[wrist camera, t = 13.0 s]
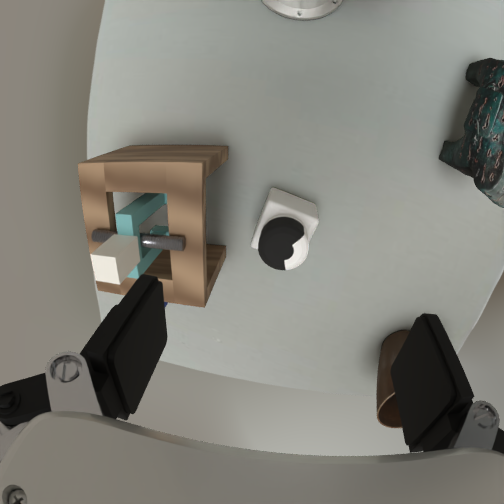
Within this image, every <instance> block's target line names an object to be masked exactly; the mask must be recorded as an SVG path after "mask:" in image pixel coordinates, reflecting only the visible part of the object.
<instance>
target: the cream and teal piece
mask: <svg viewBox="0 0 504 504" xmlns="http://www.w3.org/2000/svg"><path fill="white" fill-rule="evenodd" d="M164 204H167V194H166V193H145V194H144V195H142V196H141V197H139V198H138V199H136V200H135V201H133V202H132V203H130V204H129V205H128V206H126V207H125V208H123V209H122V210H120V211H119V212H118V213H116V223H117V231H118V234H114V235H113V236H111V237H110V238H109V239H108V240H107V241H105V242H104V243H103V244H102V245H101V246H99V247H98V248H97V249H96V250H95V251H94V252H93V253H91V254H90V255H91V260H92V265H93V270H94V274H95V279H96V281H102V282H108V283H113V284H119V285H120V284H121V283H122V282H123V280H124V279H125V278H126V277H129V278H136V279H138V278H139V276H140V275H141V274H143V273H144V272H145V271H146V270H147V268H148V267H149V266H150V265H151V263H152V262H153V261H154V260H155V259H156V257H157V256H158V255H159V254H160V252H161V251H162V250H163V249H155V248H146V247H141V243H140V233H139V225H140V224H141V223H142V222H144V221H145V220H146V219H147V218H148V217H149V216H151V215H152V214H153V213H154V212H155V211H156V210H158V209H159V208H160V207H161V206H162V205H164ZM150 234H156V235H167V236H169V227H168V226H159V225H155V226H154V227H153V228H152V229H151V230H150Z"/></svg>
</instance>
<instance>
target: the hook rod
mask: <svg viewBox="0 0 504 504" xmlns="http://www.w3.org/2000/svg"><path fill="white" fill-rule="evenodd" d="M114 234H118V231H111V230H99V229H94V230H93V232H92V241H93V242H99V243H104V242H105V241H107V240H108V239H109V238H110V237H111V236H113V235H114ZM140 243H141V247H146V248H155V249H165V250H174V251H184V249H185V245H186V239H185V237H178V236H167V235H156V234H145V233H140Z"/></svg>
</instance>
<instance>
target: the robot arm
mask: <svg viewBox="0 0 504 504" xmlns="http://www.w3.org/2000/svg"><path fill="white" fill-rule="evenodd" d="M262 2H263V3H264V4H265V5H266V6H267V7H268V8H269V9H270V10H272V11H274V12H275V13H277V14H279V15H281V16H284V17H287V18H291V19H296V20H313V19H319V18H321V17H324V16H327V15H329V14H330V13H332V12H333V11H334V10H336V9H337V8H338V7H339V5H340V4H341V3H342V0H262ZM332 2H335V3H336V4H333V3H332ZM298 14H301V16H298ZM166 342H167V328H166V318H165V307H164V294H163V283H162V282H161V281H159V280H158V277H157V276H152V275H146V274H141V275H140V276H139V278H138V279H137V280H136V282H135V283H134V284H133V286H132V287H131V288H130V290H129V291H128V292H127V294H126V295H125V296H124V298H123V299H122V300H121V302H120V303H119V304H118V305H115V306H114V307H113V308H112V309H111V310H110V312H109V313H108V314H107V316H106V317H105V319H104V320H103V321H102V323H101V324H100V326H99V327H98V328H97V330H96V331H95V333H94V334H93V335H92V337H91V338H90V340H89V341H88V343H87V344H86V345H85V347H84V348H83V350H82V351H81V353H80V354H78V353H76V352H70V351H68V352H62V353H59V354H57V355H55V356H54V357H52V358H51V359H50V360H49V362H48V363H47V366H46V372H45V373H43V374H39V375H36V376H33V377H29V378H26V379H22V380H19V381H15V382H12V383H8V384H5V385H2V386H0V504H504V431H503V430H501V429H500V428H499V421H500V419H499V415H498V413H497V410H496V409H495V408H494V407H493V406H492V405H491V404H490V403H488V402H486V401H476V402H475V403H473V401H472V398H473V397H474V394H473V392H472V389H471V387H470V384H469V382H468V379H467V377H466V375H465V372H464V370H463V368H462V366H461V363H460V361H459V359H458V356H457V354H456V352H455V350H454V348H453V346H452V344H451V342H450V339H449V337H448V335H447V333H446V331H445V329H444V327H443V325H442V323H441V321H440V319H439V317H438V316H437V315H435V314H425V313H424V314H422V315H421V316H420V317H417V318H416V320H415V322H414V324H413V326H412V328H411V330H410V332H409V334H408V336H407V338H406V340H405V342H404V344H403V346H402V348H401V350H400V351H399V353H398V355H397V357H396V359H395V360H394V362H393V364H392V366H391V370H390V374H391V378H392V382H393V387H394V391H395V395H396V400H397V404H398V409H399V413H400V418H401V423H402V428H403V433H404V439H405V443H406V445H409V450H410V453H408V454H396V455H380V456H315V455H314V456H313V455H298V454H285V453H275V452H266V451H258V450H250V449H243V448H236V447H230V446H224V445H219V444H213V443H208V442H203V441H198V440H193V439H189V438H184V437H180V436H176V435H171V434H167V433H164V432H160V431H155V430H152V429H148V428H145V427H141V426H138V425H134V424H131V423H127V422H123V421H120V420H116V418H117V417H118V418H121V419H124V420H127V419H128V417H129V415H130V413H131V414H134V413H135V411H136V410H137V407H138V405H139V403H140V400H141V398H142V396H143V394H144V391H145V389H146V387H147V385H148V382H149V380H150V378H151V376H152V374H153V372H154V369H155V367H156V364H157V363H158V361H159V359H160V356H161V354H162V352H163V350H164V348H165V346H166ZM421 451H423V452H421ZM411 452H420V453H411Z"/></svg>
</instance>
